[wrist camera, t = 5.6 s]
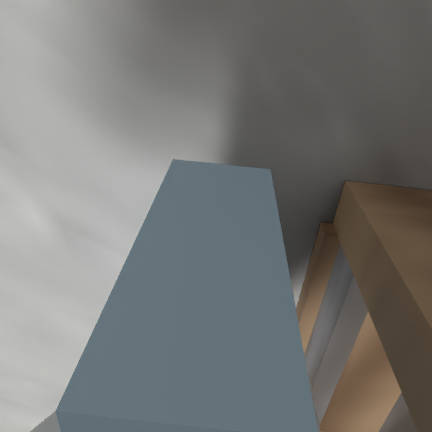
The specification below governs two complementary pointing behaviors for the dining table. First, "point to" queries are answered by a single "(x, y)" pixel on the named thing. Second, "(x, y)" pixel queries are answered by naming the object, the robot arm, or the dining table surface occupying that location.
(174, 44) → the dining table surface
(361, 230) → the wooden rack
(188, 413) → the door panel
